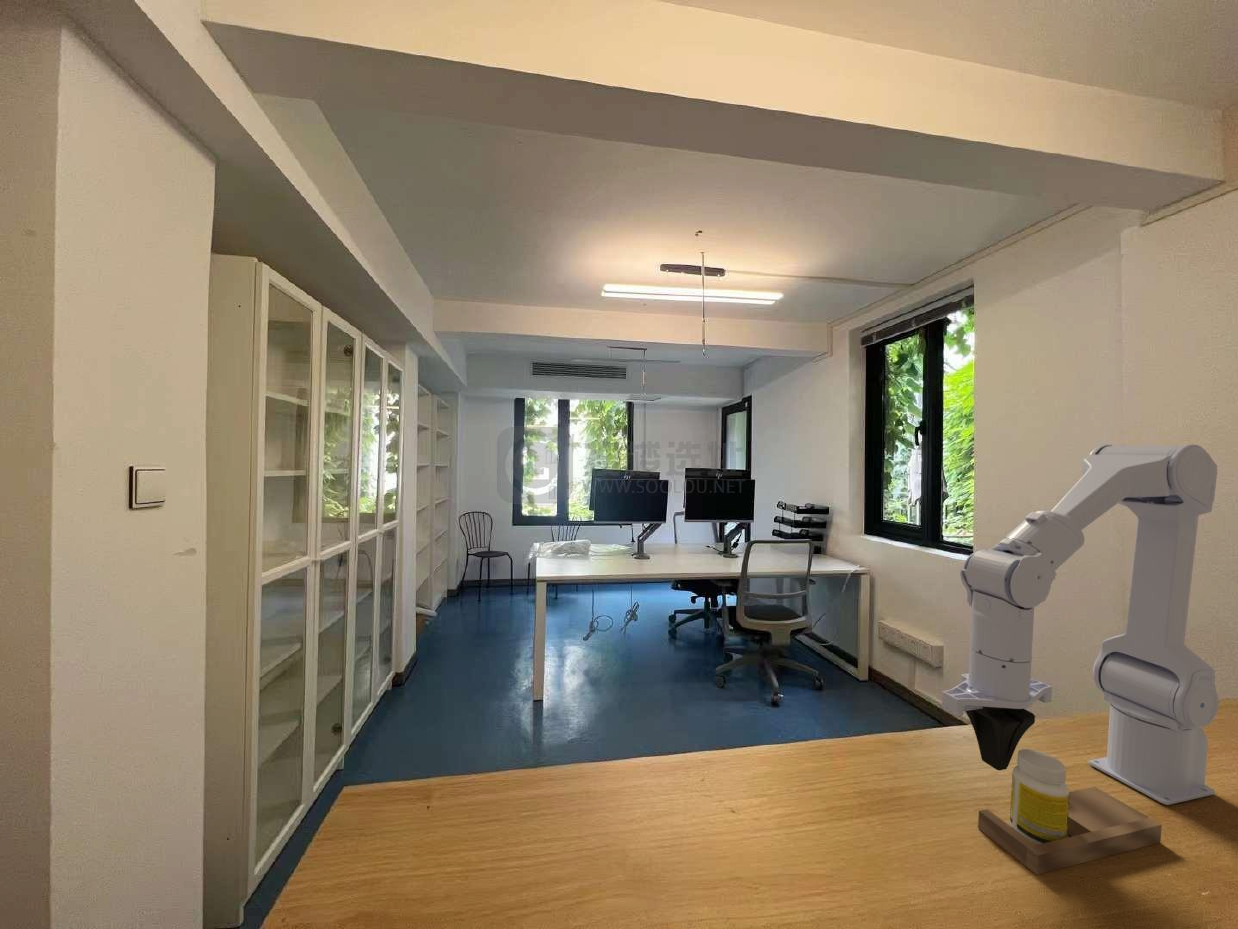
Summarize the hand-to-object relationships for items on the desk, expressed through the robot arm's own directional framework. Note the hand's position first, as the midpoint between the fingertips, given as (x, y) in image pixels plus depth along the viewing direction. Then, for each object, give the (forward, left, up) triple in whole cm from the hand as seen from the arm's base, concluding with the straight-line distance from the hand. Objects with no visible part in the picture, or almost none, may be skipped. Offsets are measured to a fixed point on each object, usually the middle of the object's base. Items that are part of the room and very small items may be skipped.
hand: (994, 764), depth 57 cm
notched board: (-4, +5, -5) cm, 8 cm away
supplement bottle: (-1, +5, -5) cm, 7 cm away
